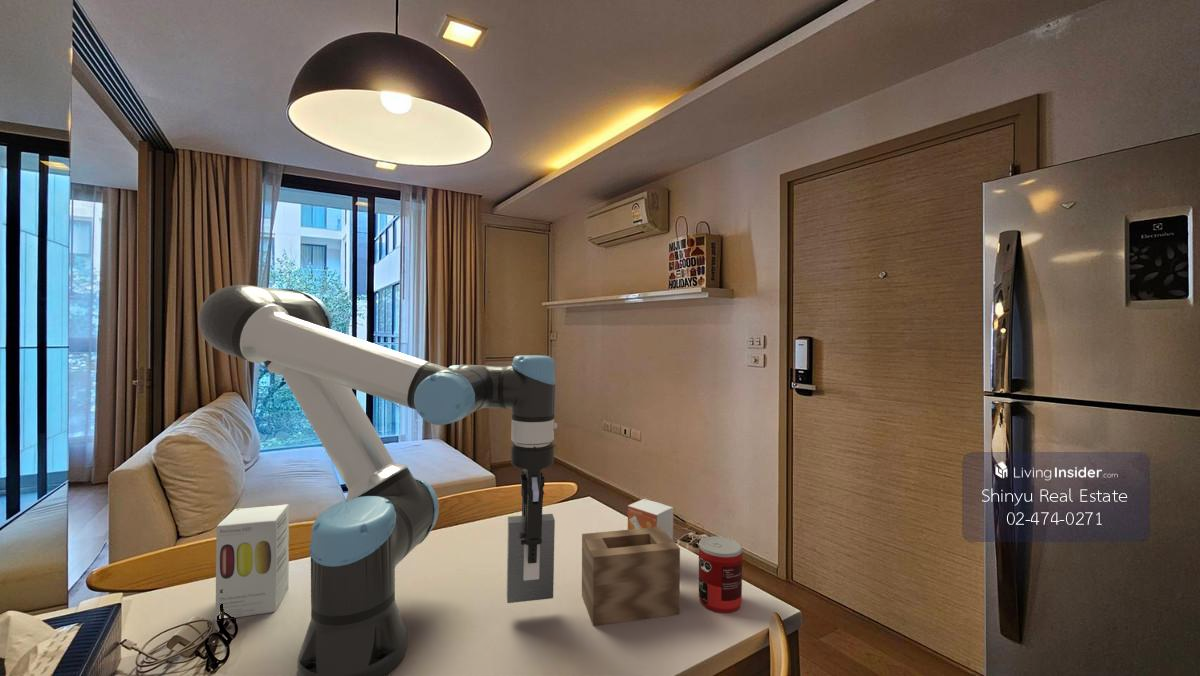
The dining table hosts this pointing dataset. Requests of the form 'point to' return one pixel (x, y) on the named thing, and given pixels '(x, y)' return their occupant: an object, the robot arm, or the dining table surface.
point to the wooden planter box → (630, 575)
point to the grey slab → (515, 560)
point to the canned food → (720, 574)
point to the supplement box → (252, 560)
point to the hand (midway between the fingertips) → (530, 573)
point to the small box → (650, 516)
